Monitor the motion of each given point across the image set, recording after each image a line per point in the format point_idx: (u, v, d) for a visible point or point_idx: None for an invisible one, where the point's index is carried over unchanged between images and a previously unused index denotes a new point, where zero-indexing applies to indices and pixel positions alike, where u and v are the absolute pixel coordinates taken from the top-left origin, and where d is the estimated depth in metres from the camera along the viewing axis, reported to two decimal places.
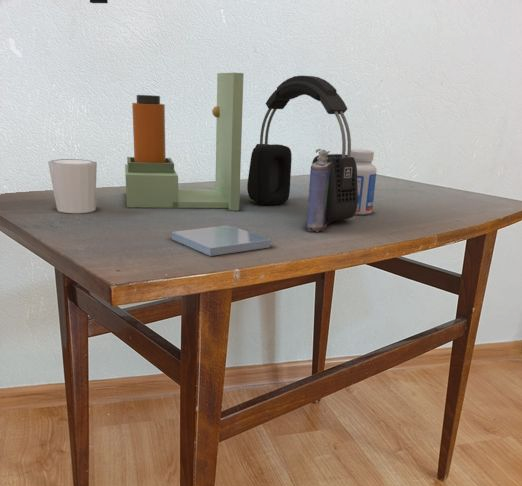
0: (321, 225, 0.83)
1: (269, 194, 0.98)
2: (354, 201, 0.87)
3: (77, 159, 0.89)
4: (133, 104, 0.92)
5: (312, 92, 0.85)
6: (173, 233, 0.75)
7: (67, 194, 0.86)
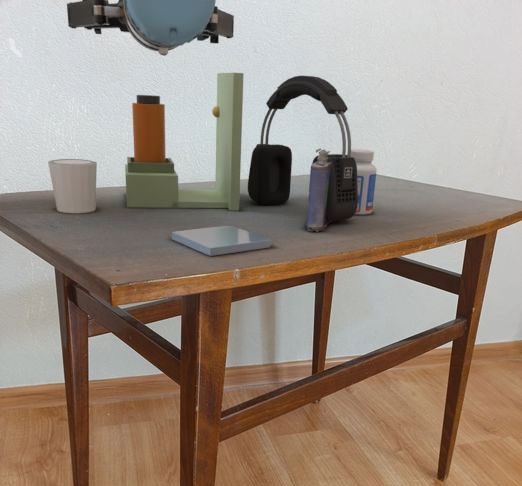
0: (321, 225, 0.83)
1: (269, 194, 0.98)
2: (354, 201, 0.87)
3: (77, 159, 0.89)
4: (133, 104, 0.92)
5: (313, 92, 0.85)
6: (173, 233, 0.75)
7: (67, 194, 0.86)
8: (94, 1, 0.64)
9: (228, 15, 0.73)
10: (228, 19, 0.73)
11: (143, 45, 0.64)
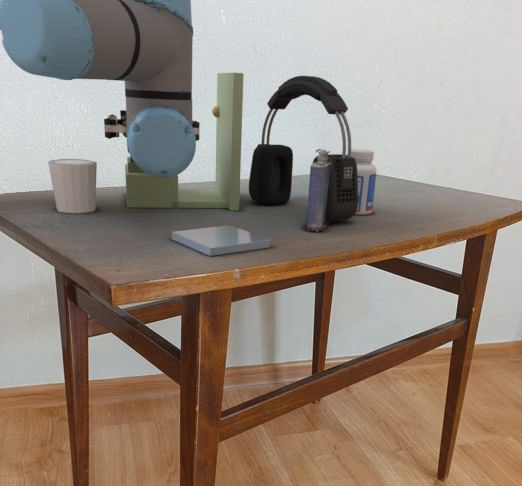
0: (321, 225, 0.83)
1: (270, 194, 0.98)
2: (354, 201, 0.87)
3: (77, 159, 0.89)
4: None
5: (313, 92, 0.85)
6: (173, 233, 0.75)
7: (67, 194, 0.86)
8: (104, 121, 0.82)
9: None
10: None
11: None
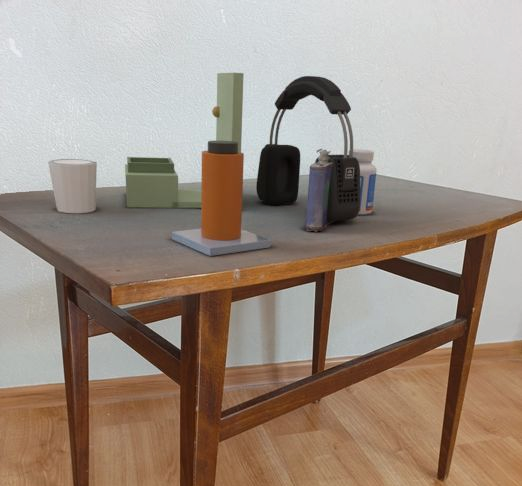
0: (319, 225, 0.83)
1: (276, 194, 0.99)
2: (356, 202, 0.87)
3: (77, 159, 0.89)
4: (204, 154, 0.69)
5: (317, 92, 0.85)
6: (173, 233, 0.75)
7: (67, 194, 0.86)
8: None
9: None
10: None
11: None
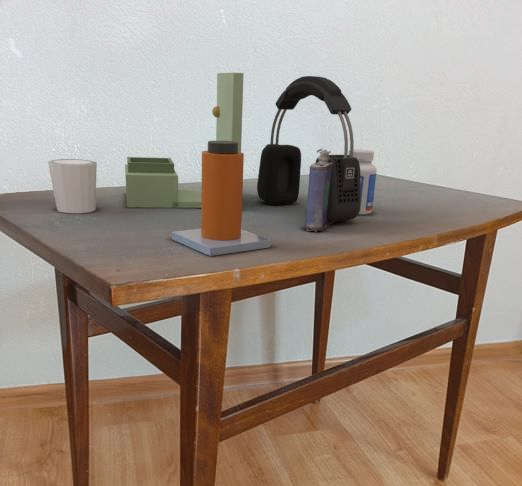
0: (319, 225, 0.83)
1: (277, 194, 0.99)
2: (356, 202, 0.87)
3: (77, 159, 0.89)
4: (204, 154, 0.69)
5: (317, 92, 0.85)
6: (173, 233, 0.75)
7: (67, 194, 0.86)
8: None
9: None
10: None
11: None
